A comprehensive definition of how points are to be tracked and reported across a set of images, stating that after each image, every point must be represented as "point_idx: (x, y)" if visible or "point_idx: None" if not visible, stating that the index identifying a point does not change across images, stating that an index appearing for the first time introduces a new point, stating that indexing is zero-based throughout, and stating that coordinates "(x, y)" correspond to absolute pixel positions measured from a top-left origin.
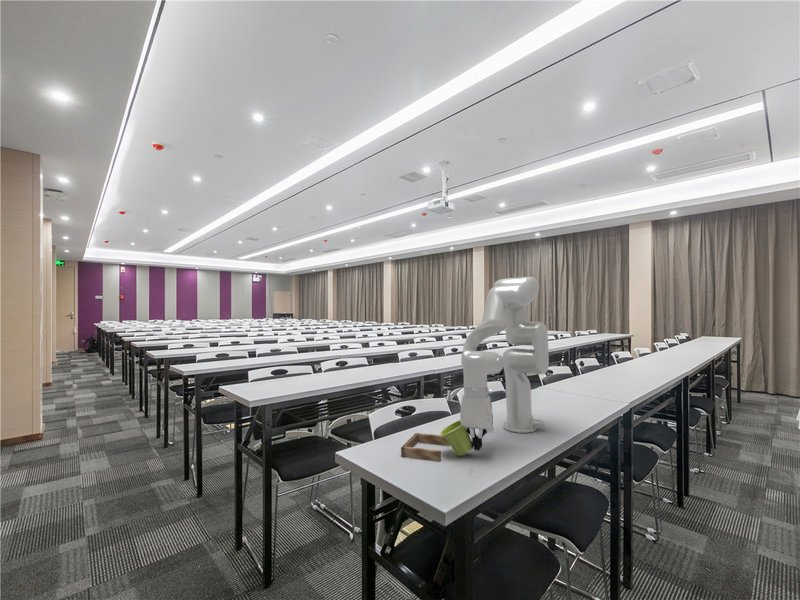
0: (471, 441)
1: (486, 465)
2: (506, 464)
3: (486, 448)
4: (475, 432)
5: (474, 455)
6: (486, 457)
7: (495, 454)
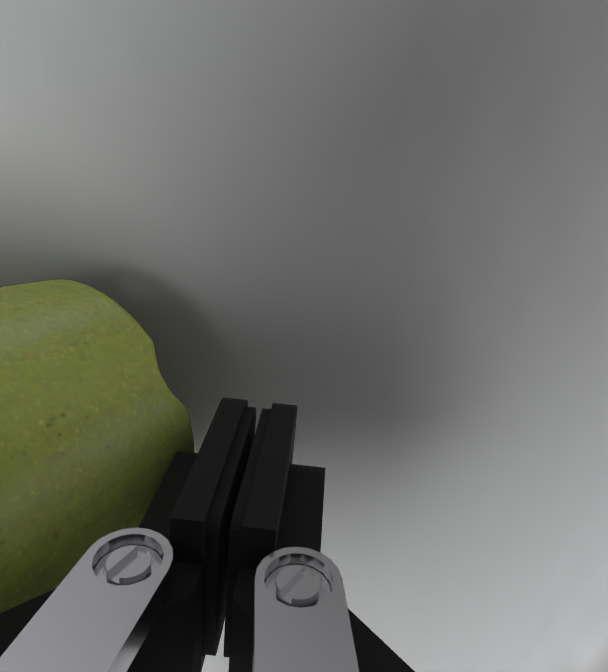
0: (139, 483)
1: (375, 575)
2: (591, 534)
3: (386, 58)
4: (160, 584)
5: (229, 357)
6: (379, 393)
7: (506, 282)
